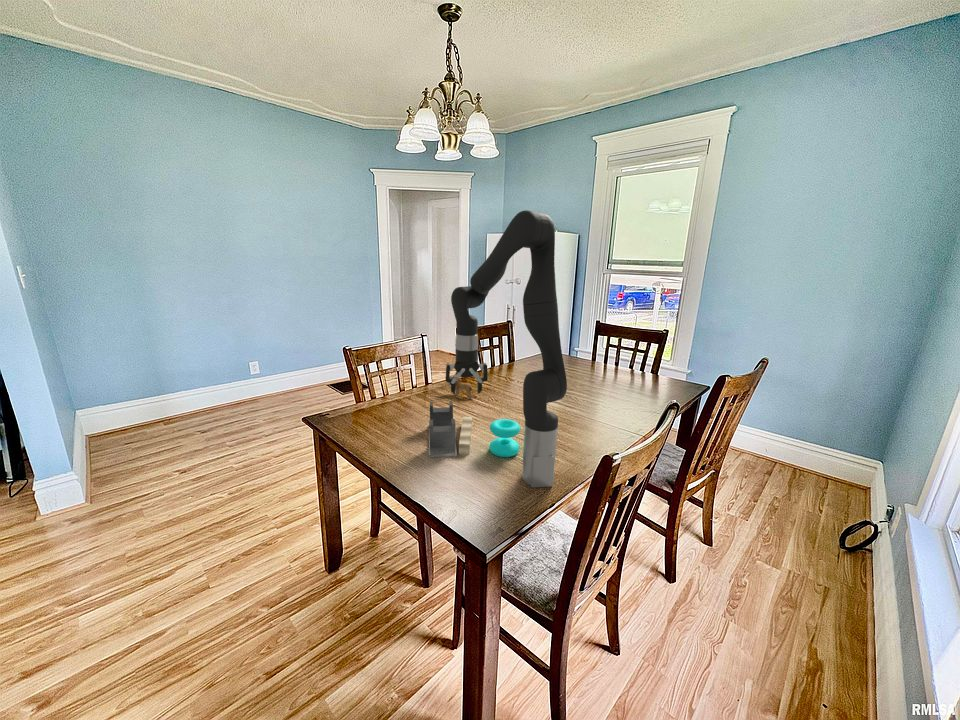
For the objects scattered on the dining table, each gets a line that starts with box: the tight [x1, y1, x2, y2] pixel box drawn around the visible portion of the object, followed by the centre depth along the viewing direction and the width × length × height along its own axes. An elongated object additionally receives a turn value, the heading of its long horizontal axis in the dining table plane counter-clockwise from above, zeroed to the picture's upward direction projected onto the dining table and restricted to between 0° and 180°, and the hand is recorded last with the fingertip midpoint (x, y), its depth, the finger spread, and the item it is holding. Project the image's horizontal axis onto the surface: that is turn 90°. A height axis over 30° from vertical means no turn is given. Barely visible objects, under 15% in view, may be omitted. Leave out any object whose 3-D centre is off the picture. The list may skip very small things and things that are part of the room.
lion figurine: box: [447, 375, 478, 400], centre depth 176 cm, size 15×5×9 cm, turn 66°
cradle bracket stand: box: [428, 400, 458, 458], centre depth 134 cm, size 24×9×10 cm, turn 7°
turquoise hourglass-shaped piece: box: [488, 418, 521, 458], centre depth 127 cm, size 10×10×10 cm
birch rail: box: [458, 416, 473, 455], centre depth 136 cm, size 22×4×4 cm, turn 179°
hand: (466, 392), depth 132 cm, fingers open, 8 cm apart
